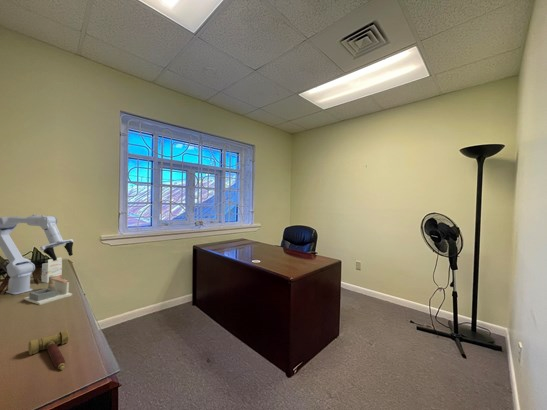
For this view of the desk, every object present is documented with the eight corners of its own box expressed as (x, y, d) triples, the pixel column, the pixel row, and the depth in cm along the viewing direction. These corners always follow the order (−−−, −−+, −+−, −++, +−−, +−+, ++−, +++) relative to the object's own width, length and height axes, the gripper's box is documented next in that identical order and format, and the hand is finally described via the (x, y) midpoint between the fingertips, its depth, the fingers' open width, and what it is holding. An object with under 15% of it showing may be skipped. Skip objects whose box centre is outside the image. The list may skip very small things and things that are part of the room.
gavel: (83, 353, 77) (40, 370, 69) (82, 367, 77) (39, 385, 69) (66, 327, 90) (28, 338, 82) (65, 339, 90) (27, 351, 82)
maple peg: (46, 289, 137) (47, 277, 137) (54, 287, 141) (55, 275, 141) (50, 290, 135) (51, 278, 136) (59, 288, 139) (59, 276, 139)
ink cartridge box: (55, 278, 157) (56, 256, 157) (61, 279, 156) (62, 257, 156) (40, 282, 148) (42, 259, 148) (46, 283, 147) (48, 259, 147)
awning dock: (24, 299, 122) (25, 283, 122) (56, 291, 135) (57, 276, 135) (39, 304, 117) (40, 287, 117) (72, 295, 130) (72, 280, 130)
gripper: (41, 236, 124) (51, 260, 124) (72, 230, 138) (81, 251, 137) (34, 241, 127) (44, 264, 126) (65, 234, 140) (75, 255, 140)
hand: (63, 257), depth 132 cm, fingers open, 7 cm apart
